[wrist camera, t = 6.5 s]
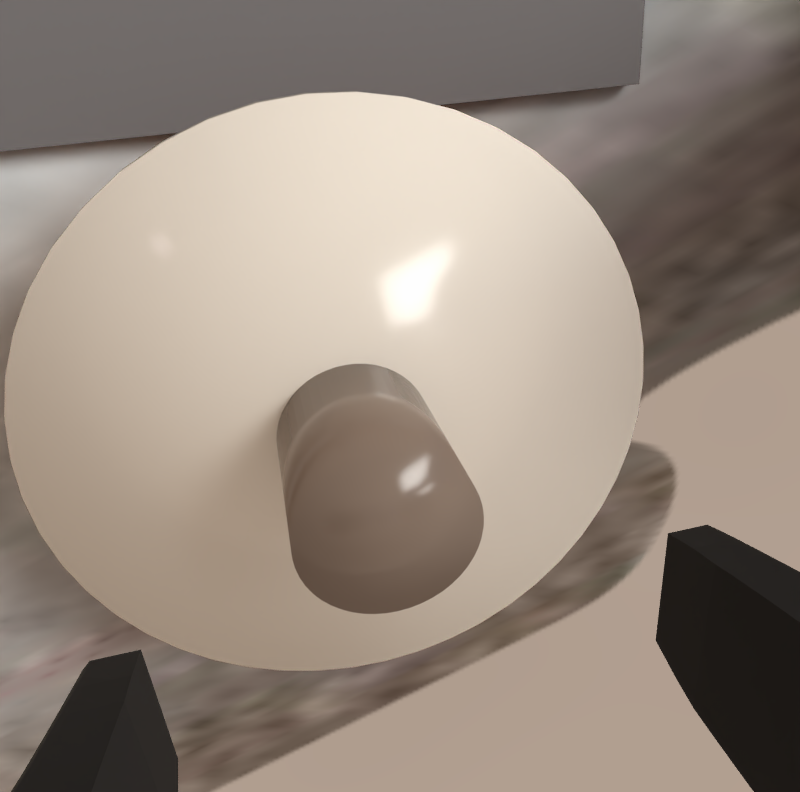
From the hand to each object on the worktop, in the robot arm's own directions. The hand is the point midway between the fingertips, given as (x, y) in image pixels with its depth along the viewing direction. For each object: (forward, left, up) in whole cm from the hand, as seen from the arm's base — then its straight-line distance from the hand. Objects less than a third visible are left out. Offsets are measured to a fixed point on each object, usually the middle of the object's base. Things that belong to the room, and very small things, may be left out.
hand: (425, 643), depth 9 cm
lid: (0, 0, -6) cm, 6 cm away
